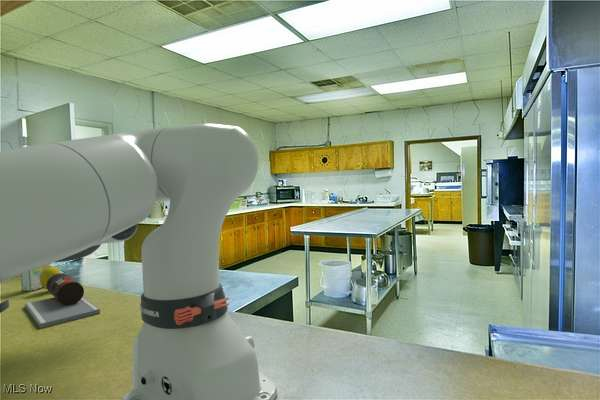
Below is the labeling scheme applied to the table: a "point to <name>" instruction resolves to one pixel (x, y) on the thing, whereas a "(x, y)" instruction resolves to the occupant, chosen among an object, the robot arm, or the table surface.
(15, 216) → the robot arm
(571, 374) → the table surface
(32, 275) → the ink box
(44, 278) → the lemon
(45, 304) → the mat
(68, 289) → the deodorant
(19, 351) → the table surface
